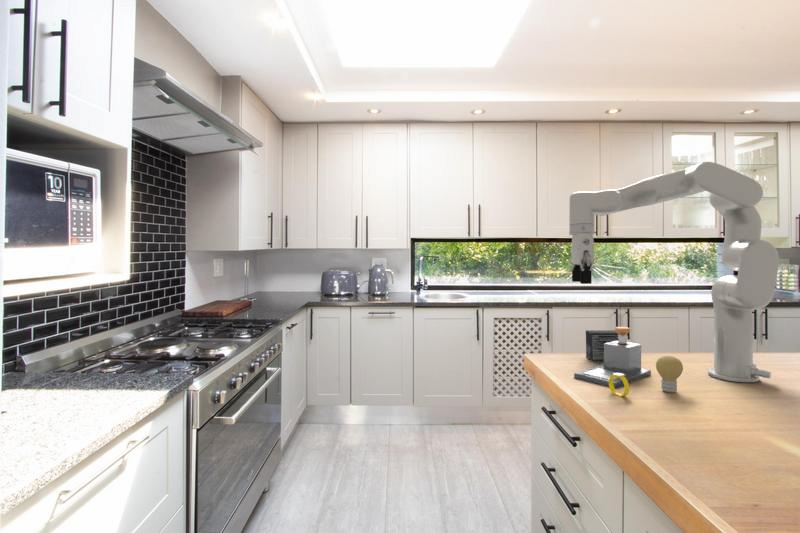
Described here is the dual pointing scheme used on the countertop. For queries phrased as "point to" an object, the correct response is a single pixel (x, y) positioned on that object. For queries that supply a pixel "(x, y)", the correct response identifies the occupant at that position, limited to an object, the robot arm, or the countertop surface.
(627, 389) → the watch
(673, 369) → the light bulb
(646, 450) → the countertop surface
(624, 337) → the light orange ellipsoid
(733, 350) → the robot arm
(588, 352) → the small box
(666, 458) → the countertop surface
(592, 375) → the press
